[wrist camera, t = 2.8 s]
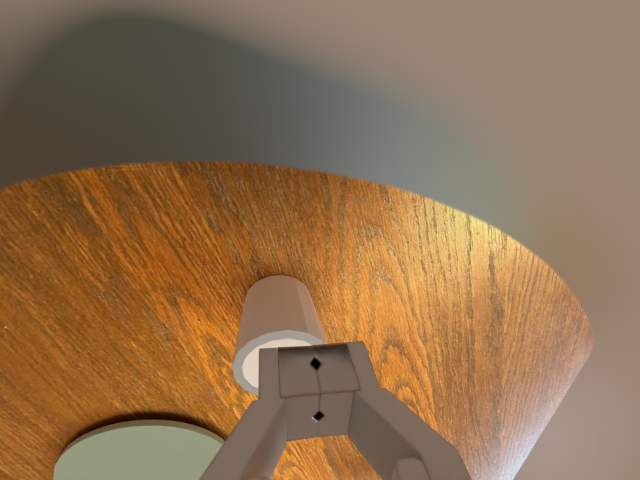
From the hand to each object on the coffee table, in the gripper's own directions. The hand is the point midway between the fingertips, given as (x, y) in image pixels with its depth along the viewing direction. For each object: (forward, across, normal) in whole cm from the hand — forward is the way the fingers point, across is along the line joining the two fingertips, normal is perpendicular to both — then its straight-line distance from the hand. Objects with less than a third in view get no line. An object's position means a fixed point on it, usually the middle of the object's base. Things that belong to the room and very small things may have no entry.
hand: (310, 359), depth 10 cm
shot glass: (+17, 0, +12) cm, 20 cm away
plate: (+17, +14, +34) cm, 40 cm away
